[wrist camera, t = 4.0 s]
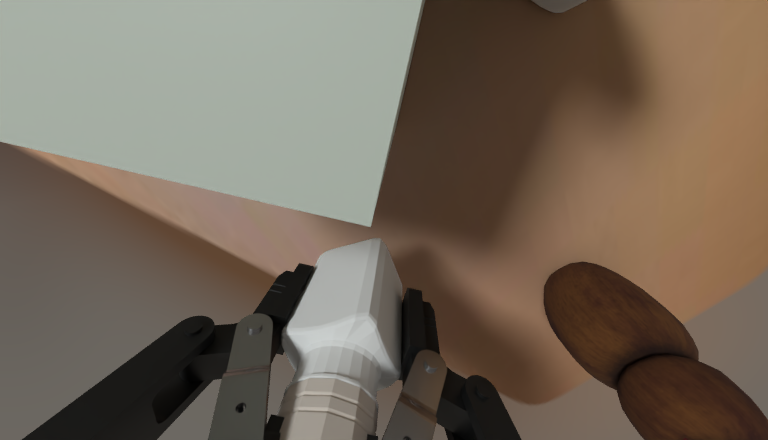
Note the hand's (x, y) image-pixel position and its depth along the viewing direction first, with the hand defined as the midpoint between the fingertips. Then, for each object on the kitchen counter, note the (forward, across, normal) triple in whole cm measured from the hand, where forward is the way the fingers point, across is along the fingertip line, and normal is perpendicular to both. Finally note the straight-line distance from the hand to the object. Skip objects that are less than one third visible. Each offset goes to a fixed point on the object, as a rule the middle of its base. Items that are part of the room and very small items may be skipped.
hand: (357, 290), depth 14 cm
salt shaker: (+2, 0, 0) cm, 2 cm away
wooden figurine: (+7, -16, +1) cm, 18 cm away
